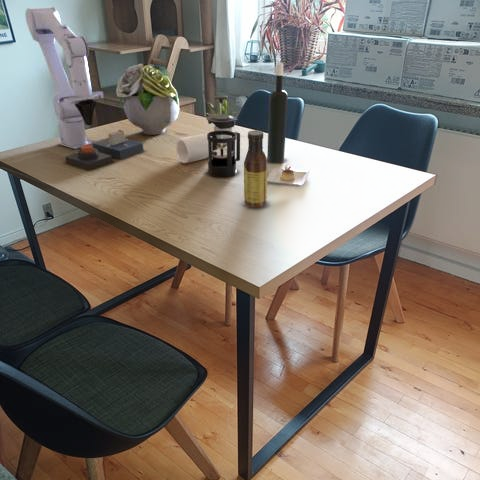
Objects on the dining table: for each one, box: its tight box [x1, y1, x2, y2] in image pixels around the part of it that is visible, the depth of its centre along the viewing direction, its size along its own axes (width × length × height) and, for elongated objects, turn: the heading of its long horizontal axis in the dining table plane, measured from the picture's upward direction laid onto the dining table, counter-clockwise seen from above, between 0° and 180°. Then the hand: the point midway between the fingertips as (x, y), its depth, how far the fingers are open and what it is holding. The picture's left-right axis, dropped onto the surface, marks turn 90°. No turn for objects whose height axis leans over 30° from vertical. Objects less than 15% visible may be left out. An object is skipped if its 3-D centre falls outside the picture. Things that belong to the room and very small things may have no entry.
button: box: [80, 144, 93, 153], centre depth 163 cm, size 4×4×2 cm
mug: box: [175, 133, 209, 164], centre depth 167 cm, size 12×10×8 cm
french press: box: [206, 95, 241, 179], centre depth 152 cm, size 12×9×23 cm
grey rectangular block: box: [107, 129, 126, 145], centre depth 173 cm, size 6×2×4 cm, turn 143°
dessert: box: [267, 164, 310, 187], centre depth 153 cm, size 12×12×5 cm
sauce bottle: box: [243, 129, 268, 209], centre depth 132 cm, size 6×6×20 cm
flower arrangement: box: [115, 63, 180, 136], centre depth 188 cm, size 25×25×24 cm
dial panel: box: [91, 137, 145, 160], centre depth 175 cm, size 14×11×3 cm
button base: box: [64, 148, 114, 171], centre depth 165 cm, size 12×10×4 cm
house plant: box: [203, 99, 237, 146], centre depth 180 cm, size 14×14×16 cm
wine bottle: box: [266, 62, 289, 164], centre depth 160 cm, size 6×6×30 cm
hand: (88, 124), depth 166 cm, fingers closed
